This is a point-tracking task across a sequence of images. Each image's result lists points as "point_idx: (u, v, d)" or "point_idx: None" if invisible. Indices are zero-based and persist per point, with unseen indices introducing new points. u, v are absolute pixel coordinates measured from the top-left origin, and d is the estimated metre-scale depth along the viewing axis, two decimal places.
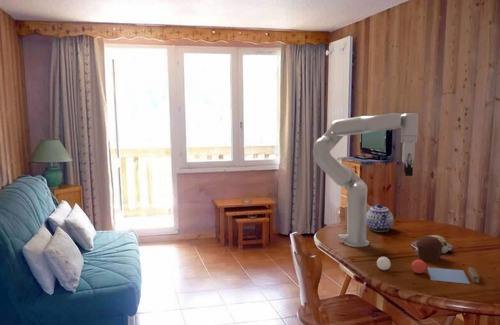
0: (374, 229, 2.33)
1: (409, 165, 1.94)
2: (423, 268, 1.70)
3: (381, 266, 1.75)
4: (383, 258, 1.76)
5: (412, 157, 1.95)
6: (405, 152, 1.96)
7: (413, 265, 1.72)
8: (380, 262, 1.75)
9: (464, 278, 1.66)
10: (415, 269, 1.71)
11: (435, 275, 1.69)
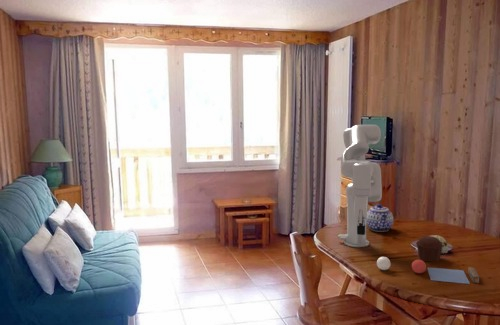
0: (374, 229, 2.33)
1: (360, 223, 1.75)
2: (423, 268, 1.70)
3: (381, 266, 1.75)
4: (383, 258, 1.76)
5: (364, 214, 1.72)
6: (356, 208, 1.73)
7: (413, 265, 1.72)
8: (380, 262, 1.75)
9: (464, 278, 1.66)
10: (415, 269, 1.71)
11: (435, 275, 1.69)
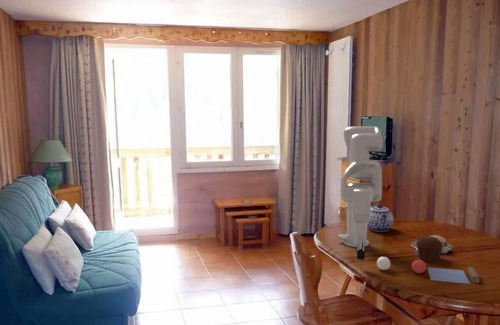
0: (374, 229, 2.33)
1: (360, 249, 1.76)
2: (423, 268, 1.70)
3: (381, 266, 1.75)
4: (383, 258, 1.76)
5: (363, 239, 1.73)
6: (356, 233, 1.74)
7: (413, 265, 1.72)
8: (380, 262, 1.75)
9: (464, 278, 1.66)
10: (415, 269, 1.71)
11: (435, 275, 1.69)
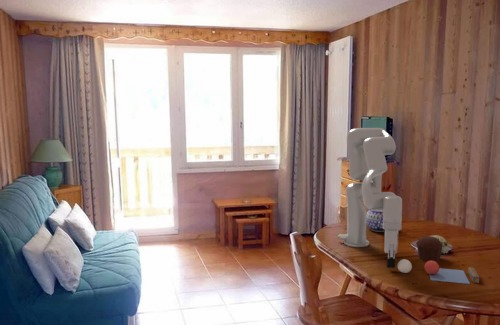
0: (374, 229, 2.33)
1: (391, 257, 1.73)
2: (431, 273, 1.70)
3: (405, 267, 1.71)
4: (407, 272, 1.73)
5: (395, 248, 1.70)
6: (387, 242, 1.71)
7: (435, 264, 1.70)
8: (408, 270, 1.71)
9: (464, 278, 1.66)
10: (431, 265, 1.69)
11: (435, 275, 1.69)
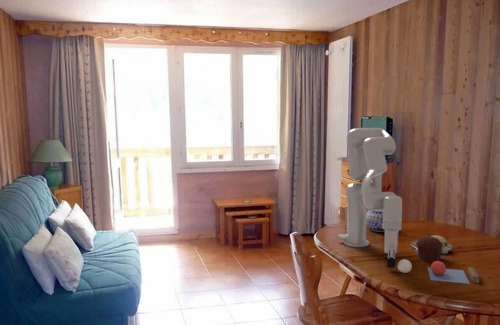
0: (374, 229, 2.33)
1: (391, 257, 1.73)
2: (435, 271, 1.69)
3: (405, 267, 1.71)
4: (407, 272, 1.73)
5: (395, 248, 1.70)
6: (387, 242, 1.71)
7: (445, 268, 1.69)
8: (408, 270, 1.71)
9: (464, 278, 1.66)
10: (442, 267, 1.68)
11: (435, 275, 1.69)
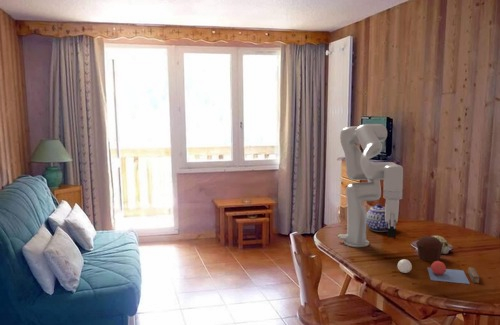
0: (374, 229, 2.33)
1: (391, 226, 1.72)
2: (435, 271, 1.69)
3: (405, 267, 1.71)
4: (407, 272, 1.73)
5: (395, 217, 1.69)
6: (387, 211, 1.69)
7: (445, 268, 1.69)
8: (408, 270, 1.71)
9: (464, 278, 1.66)
10: (442, 267, 1.68)
11: (435, 275, 1.69)
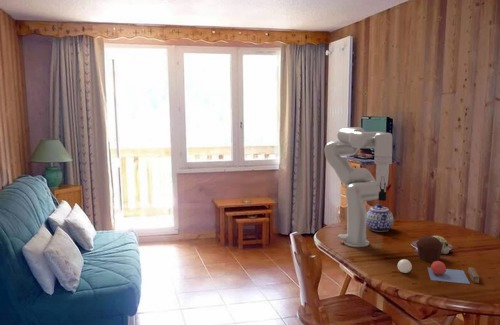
0: (374, 229, 2.33)
1: (382, 190, 1.86)
2: (435, 271, 1.69)
3: (405, 267, 1.71)
4: (407, 272, 1.73)
5: (386, 180, 1.82)
6: (378, 175, 1.83)
7: (445, 268, 1.69)
8: (408, 270, 1.71)
9: (464, 278, 1.66)
10: (442, 267, 1.68)
11: (435, 275, 1.69)
